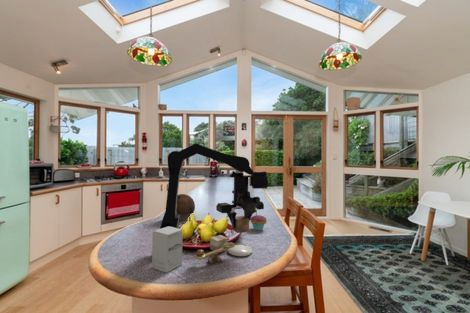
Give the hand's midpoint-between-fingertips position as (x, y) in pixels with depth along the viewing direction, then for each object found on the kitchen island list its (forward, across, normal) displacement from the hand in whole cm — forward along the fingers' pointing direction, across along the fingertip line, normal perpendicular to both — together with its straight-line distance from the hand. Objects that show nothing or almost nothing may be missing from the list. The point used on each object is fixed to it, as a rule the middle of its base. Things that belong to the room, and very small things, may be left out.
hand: (240, 228), depth 99 cm
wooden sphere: (+10, -7, +57) cm, 58 cm away
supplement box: (+10, -28, 0) cm, 30 cm away
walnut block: (+1, 0, 0) cm, 1 cm away
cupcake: (+10, +24, +23) cm, 34 cm away
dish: (+10, 0, 0) cm, 10 cm away
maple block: (+10, -6, +6) cm, 13 cm away
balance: (+10, -12, -4) cm, 16 cm away
